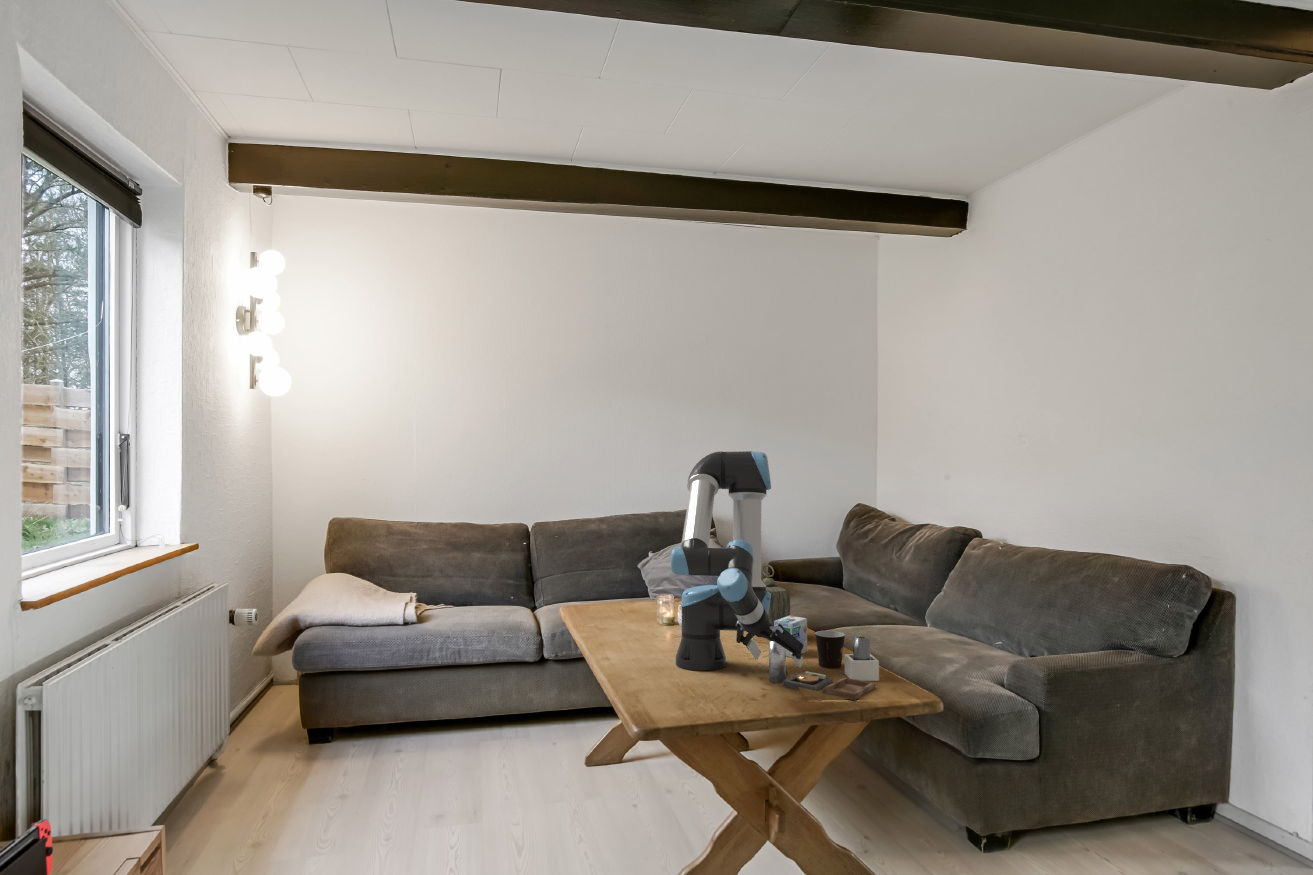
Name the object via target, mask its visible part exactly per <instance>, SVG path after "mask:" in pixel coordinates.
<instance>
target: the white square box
mask: <svg viewBox="0 0 1313 875" xmlns="http://www.w3.org/2000/svg"><path fill="white" fill-rule="evenodd" d="M843 654H844V653H843ZM843 657H844V675H846V676H847V678H850V679H856V680H861V681H866V682H872V681H873V682H877V681H880V661H879V660H878V658H876V657H875V656H874V655H873V654H871V653H870V660H853V653H851V654H850V653H848V654H847V653H845V654H844V656H843Z"/></svg>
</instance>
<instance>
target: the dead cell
mask: <svg viewBox="0 0 1313 875" xmlns="http://www.w3.org/2000/svg"><path fill="white" fill-rule="evenodd" d="M852 638H853V640H852V641H853V642H852V644H853V645H852V647H853V648H852V654H853V660H870V654H871V637H869V636H866V635H864V634H858V635H854V636H852Z"/></svg>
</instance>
